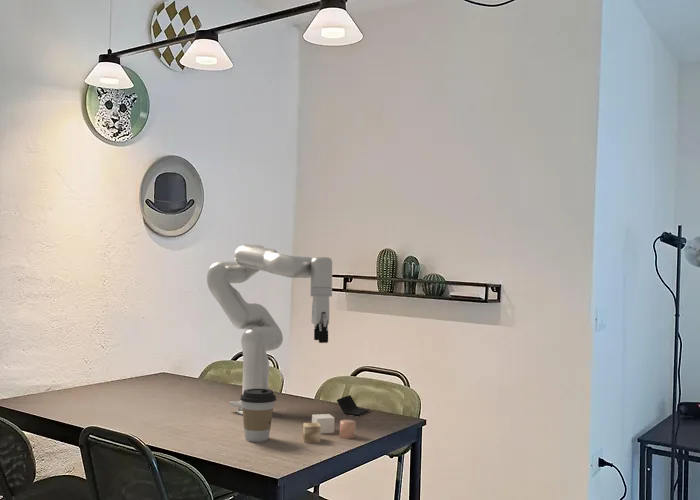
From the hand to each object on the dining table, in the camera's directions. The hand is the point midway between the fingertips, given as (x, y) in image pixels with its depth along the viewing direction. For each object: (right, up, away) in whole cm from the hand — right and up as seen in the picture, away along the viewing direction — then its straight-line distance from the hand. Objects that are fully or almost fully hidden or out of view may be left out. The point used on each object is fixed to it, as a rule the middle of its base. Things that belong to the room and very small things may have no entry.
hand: (321, 341), depth 239 cm
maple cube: (-2, -28, -24) cm, 37 cm away
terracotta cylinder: (+9, -29, -18) cm, 35 cm away
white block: (+1, -29, -11) cm, 31 cm away
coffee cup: (-19, -28, -25) cm, 42 cm away
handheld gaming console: (+11, -30, +19) cm, 37 cm away
